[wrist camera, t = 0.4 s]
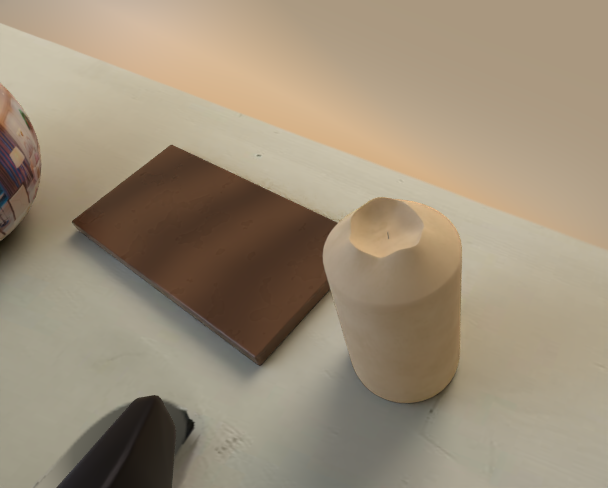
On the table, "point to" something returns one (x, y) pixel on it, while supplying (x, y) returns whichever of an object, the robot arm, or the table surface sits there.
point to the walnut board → (216, 247)
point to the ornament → (16, 163)
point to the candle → (398, 296)
